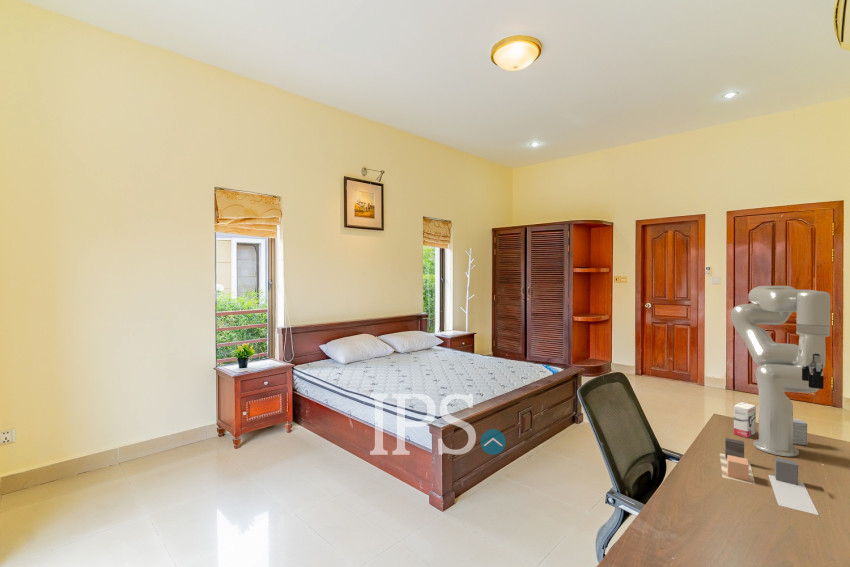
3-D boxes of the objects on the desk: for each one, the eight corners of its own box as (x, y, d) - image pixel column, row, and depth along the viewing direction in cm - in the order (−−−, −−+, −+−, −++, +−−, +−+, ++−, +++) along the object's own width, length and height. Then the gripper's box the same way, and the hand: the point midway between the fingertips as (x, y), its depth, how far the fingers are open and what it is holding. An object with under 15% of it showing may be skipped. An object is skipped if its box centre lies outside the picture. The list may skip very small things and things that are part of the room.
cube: (727, 470, 127) (727, 454, 127) (747, 474, 124) (747, 458, 124) (728, 476, 123) (728, 460, 123) (748, 481, 120) (748, 465, 120)
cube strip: (719, 456, 139) (720, 436, 139) (748, 462, 135) (749, 442, 134) (722, 480, 123) (722, 458, 123) (755, 488, 118) (755, 465, 118)
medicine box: (800, 441, 152) (800, 419, 152) (807, 445, 148) (807, 423, 148) (775, 438, 155) (775, 416, 154) (781, 443, 150) (781, 420, 150)
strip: (768, 478, 124) (768, 456, 124) (802, 486, 120) (803, 462, 119) (778, 509, 108) (778, 483, 108) (818, 519, 103) (819, 492, 103)
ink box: (748, 438, 155) (748, 408, 155) (733, 434, 159) (733, 405, 159) (756, 433, 160) (756, 404, 159) (741, 429, 164) (741, 401, 164)
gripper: (791, 326, 132) (790, 376, 132) (802, 332, 118) (801, 389, 118) (822, 328, 128) (822, 380, 128) (837, 334, 113) (836, 393, 114)
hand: (812, 384), depth 123 cm, fingers open, 9 cm apart
